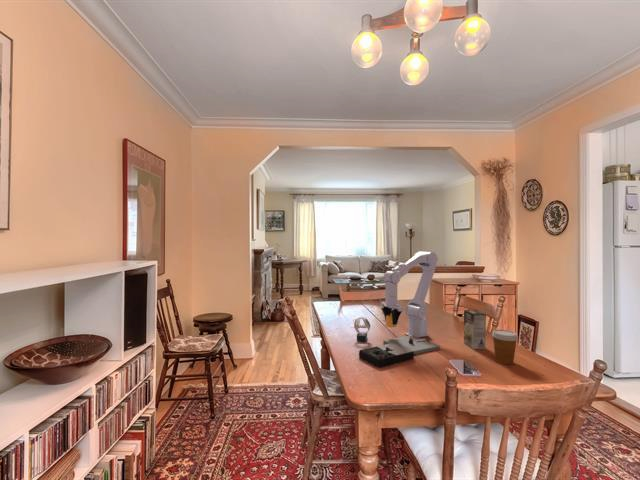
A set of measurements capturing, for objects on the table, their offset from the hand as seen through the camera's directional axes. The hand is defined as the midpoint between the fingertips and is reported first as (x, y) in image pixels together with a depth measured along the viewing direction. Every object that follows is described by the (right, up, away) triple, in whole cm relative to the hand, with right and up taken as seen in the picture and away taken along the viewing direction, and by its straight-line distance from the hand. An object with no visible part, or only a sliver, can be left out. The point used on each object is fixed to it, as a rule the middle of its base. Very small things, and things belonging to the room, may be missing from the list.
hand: (391, 323), depth 166 cm
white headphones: (-14, -9, +23) cm, 28 cm away
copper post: (+7, -7, -9) cm, 14 cm away
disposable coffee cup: (+41, -9, -28) cm, 50 cm away
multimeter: (-7, -9, -25) cm, 27 cm away
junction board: (+7, -9, -9) cm, 14 cm away
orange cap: (0, -1, 0) cm, 1 cm away
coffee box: (+37, -9, -8) cm, 39 cm away
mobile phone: (+21, -10, -34) cm, 42 cm away
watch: (-14, -9, 0) cm, 17 cm away
